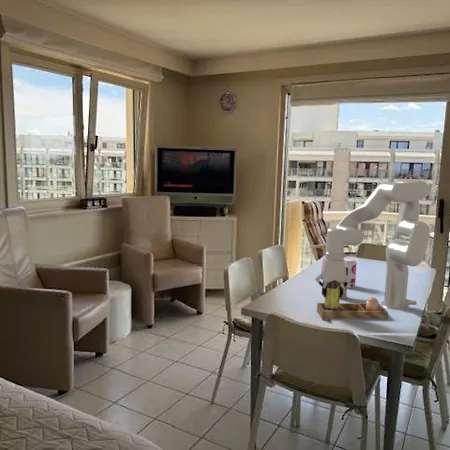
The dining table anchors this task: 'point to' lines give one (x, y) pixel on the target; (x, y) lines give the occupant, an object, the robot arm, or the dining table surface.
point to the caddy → (351, 311)
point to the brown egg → (372, 304)
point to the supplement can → (351, 271)
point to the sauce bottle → (332, 296)
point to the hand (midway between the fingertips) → (332, 296)
